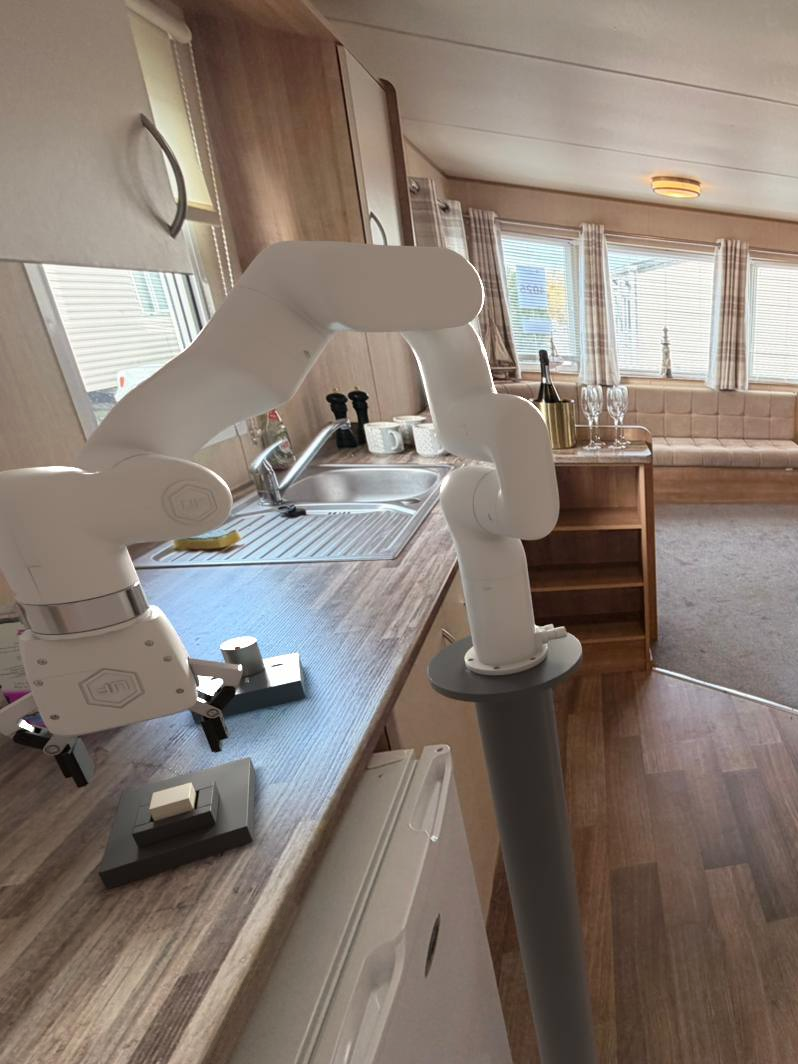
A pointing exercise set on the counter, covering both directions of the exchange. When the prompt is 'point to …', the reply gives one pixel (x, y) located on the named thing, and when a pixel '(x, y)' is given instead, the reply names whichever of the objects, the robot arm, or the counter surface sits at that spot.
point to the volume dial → (243, 654)
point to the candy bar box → (14, 668)
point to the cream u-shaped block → (172, 801)
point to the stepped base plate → (180, 824)
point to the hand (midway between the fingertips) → (155, 761)
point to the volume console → (262, 686)
